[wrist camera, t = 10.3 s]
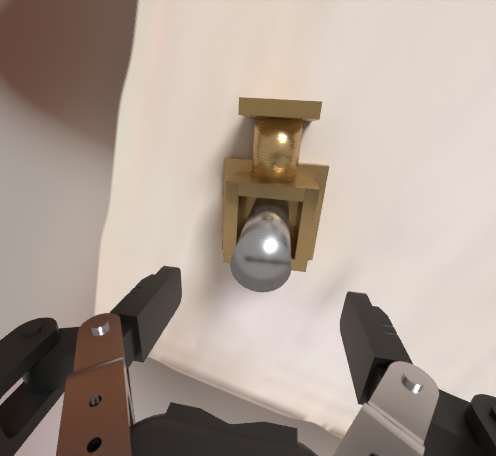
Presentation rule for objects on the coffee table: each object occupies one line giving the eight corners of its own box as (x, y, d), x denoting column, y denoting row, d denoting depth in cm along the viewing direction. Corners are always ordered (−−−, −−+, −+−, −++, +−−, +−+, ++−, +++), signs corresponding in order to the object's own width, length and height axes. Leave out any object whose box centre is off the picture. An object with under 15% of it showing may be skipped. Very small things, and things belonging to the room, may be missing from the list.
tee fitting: (337, 109, 20) (353, 103, 15) (311, 256, 25) (317, 286, 20) (227, 103, 21) (210, 96, 16) (224, 245, 26) (210, 272, 21)
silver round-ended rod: (290, 195, 22) (294, 242, 13) (286, 230, 24) (287, 295, 14) (253, 191, 23) (231, 235, 13) (251, 226, 24) (229, 288, 15)
